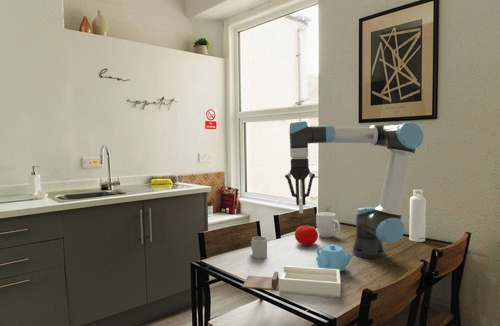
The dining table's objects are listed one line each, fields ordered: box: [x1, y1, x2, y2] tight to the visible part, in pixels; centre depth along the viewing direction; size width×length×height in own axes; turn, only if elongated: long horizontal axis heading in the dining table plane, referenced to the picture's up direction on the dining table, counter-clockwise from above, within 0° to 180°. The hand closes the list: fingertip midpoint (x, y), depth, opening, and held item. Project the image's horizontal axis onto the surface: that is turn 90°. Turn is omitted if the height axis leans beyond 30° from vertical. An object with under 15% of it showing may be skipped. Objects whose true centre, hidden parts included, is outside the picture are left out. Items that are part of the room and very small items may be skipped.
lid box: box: [278, 265, 342, 298], centre depth 134 cm, size 22×14×5 cm, turn 77°
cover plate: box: [241, 271, 280, 291], centre depth 138 cm, size 14×11×4 cm
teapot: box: [316, 243, 354, 272], centre depth 150 cm, size 15×14×11 cm
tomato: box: [294, 224, 319, 246], centre depth 188 cm, size 11×12×10 cm
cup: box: [250, 236, 268, 260], centre depth 171 cm, size 7×10×9 cm
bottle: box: [408, 188, 427, 243], centre depth 194 cm, size 8×8×28 cm
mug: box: [315, 211, 341, 238], centre depth 203 cm, size 15×11×13 cm
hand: (301, 212), depth 150 cm, fingers closed
